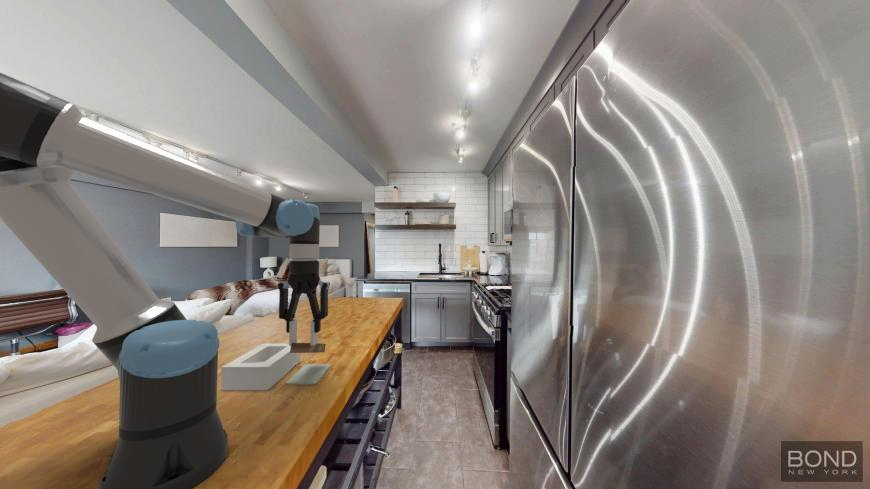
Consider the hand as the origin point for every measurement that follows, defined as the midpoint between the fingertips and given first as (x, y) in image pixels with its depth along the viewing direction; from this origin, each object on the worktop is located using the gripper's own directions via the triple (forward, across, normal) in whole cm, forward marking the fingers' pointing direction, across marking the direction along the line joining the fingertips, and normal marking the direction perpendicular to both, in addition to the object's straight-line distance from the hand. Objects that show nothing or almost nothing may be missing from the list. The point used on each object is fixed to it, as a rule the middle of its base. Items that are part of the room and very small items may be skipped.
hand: (303, 344), depth 76 cm
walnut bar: (+4, 0, -3) cm, 5 cm away
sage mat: (+11, 0, -5) cm, 12 cm away
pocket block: (+11, +13, -5) cm, 18 cm away
